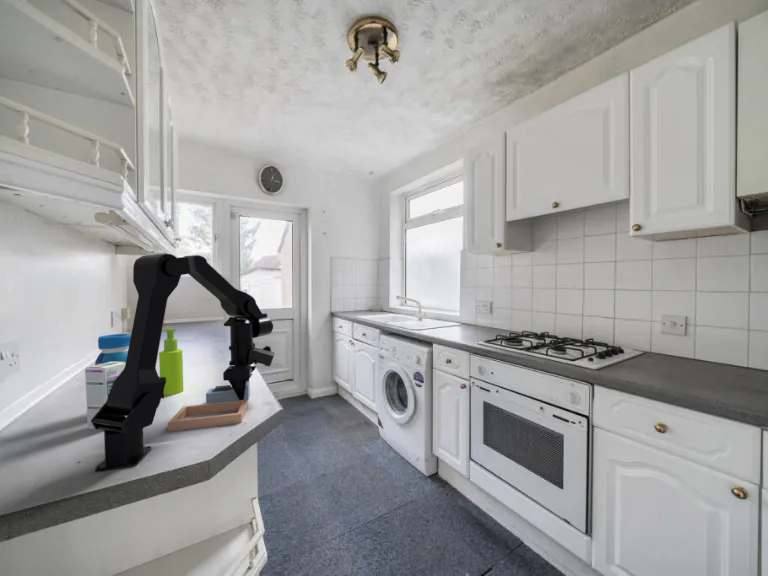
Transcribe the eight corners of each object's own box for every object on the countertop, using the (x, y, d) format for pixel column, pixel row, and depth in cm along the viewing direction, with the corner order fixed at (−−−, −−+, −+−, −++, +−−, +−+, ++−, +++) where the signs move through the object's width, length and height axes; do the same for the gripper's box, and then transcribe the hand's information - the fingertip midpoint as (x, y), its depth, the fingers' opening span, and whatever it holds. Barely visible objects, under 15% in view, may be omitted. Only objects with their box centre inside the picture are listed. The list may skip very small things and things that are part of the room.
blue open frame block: (206, 405, 85) (205, 390, 85) (209, 399, 90) (209, 385, 90) (248, 400, 88) (248, 385, 88) (249, 394, 93) (249, 380, 93)
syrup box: (106, 430, 74) (104, 367, 73) (86, 429, 75) (84, 366, 75) (131, 420, 79) (129, 361, 79) (111, 418, 80) (109, 360, 80)
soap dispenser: (154, 395, 98) (152, 329, 98) (181, 389, 102) (179, 326, 102) (157, 400, 93) (155, 330, 93) (185, 394, 98) (183, 328, 98)
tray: (241, 424, 75) (241, 414, 75) (168, 433, 71) (168, 422, 71) (248, 409, 85) (247, 399, 85) (183, 416, 81) (183, 406, 81)
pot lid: (241, 408, 85) (241, 389, 85) (199, 413, 83) (198, 394, 83) (247, 396, 95) (246, 379, 95) (209, 399, 93) (209, 382, 92)
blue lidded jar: (117, 417, 81) (115, 337, 81) (86, 416, 82) (84, 338, 82) (145, 404, 90) (142, 332, 90) (116, 404, 90) (114, 333, 90)
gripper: (269, 344, 83) (270, 405, 83) (274, 334, 101) (275, 384, 101) (222, 347, 80) (223, 410, 80) (235, 336, 98) (237, 387, 98)
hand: (243, 396), depth 90 cm, fingers closed on blue open frame block, 5 cm apart
